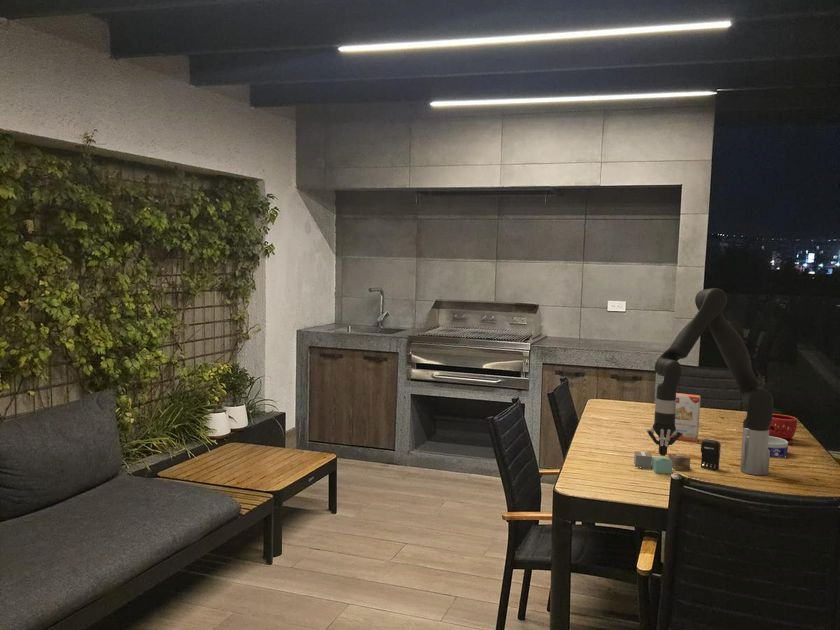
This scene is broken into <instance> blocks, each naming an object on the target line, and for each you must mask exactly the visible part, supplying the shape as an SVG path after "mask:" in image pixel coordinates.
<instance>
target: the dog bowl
mask: <svg viewBox="0 0 840 630" xmlns="http://www.w3.org/2000/svg"><path fill="white" fill-rule="evenodd" d="M788 448H789V444H788V441H786V440H784V439H781V438H777V437H772V436H769V441H768V449H769V450H770V458H773V457H782V458H785V456H786V457H787V456H788V450H789V449H788Z"/></svg>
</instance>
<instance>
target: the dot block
mask: <svg viewBox="0 0 840 630" xmlns="http://www.w3.org/2000/svg"><path fill="white" fill-rule="evenodd" d="M668 458H669V459H670V460H671V461H672V468H673V469H672V470H674V469H675V470H674V471H690V470H691V457H690V456H688V455H686V454H684V453H668Z"/></svg>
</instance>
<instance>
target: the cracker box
mask: <svg viewBox="0 0 840 630" xmlns="http://www.w3.org/2000/svg"><path fill="white" fill-rule="evenodd" d="M701 397H702V396H701V395H698V394H689V393H688V394H687V393H680V392H679V393H678V392H676V415H675V427H676V430H677V431H679V432H680V433H681V436H680V437H679V438H678V439H677V440H676V441H683V442H690V443H697V442H698V440H699V428H700V427H699V426H700V414H701V413H700V412H701ZM673 435H674V434H672V435H671V436H670V437H669V440H670V438H671V437H672V436H673Z"/></svg>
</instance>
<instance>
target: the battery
mask: <svg viewBox="0 0 840 630" xmlns="http://www.w3.org/2000/svg"><path fill="white" fill-rule="evenodd" d="M721 449H722V443H721V442H720V441H719V440H717V439H712V438H711V439H710V438H705V439H703V440H702V441H701V443H700V453H701V460H700V467H701V468H703V469H708V470H713V471H717V470H720V461H721V452H722V450H721Z"/></svg>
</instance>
